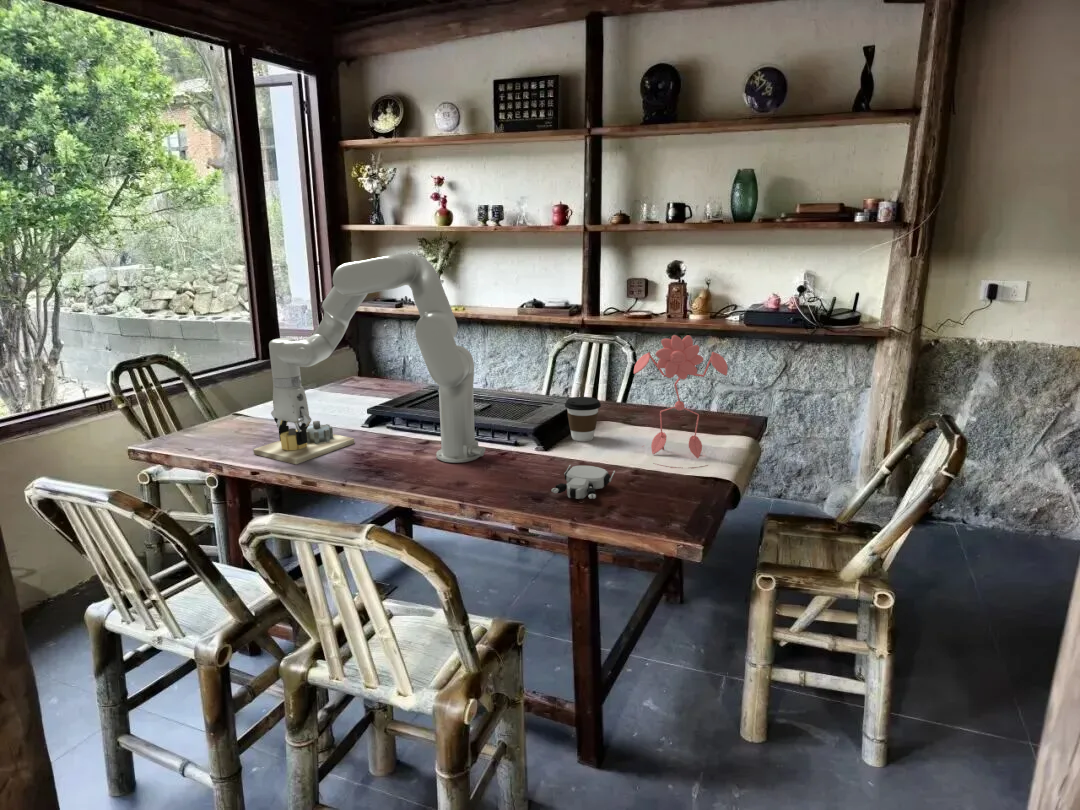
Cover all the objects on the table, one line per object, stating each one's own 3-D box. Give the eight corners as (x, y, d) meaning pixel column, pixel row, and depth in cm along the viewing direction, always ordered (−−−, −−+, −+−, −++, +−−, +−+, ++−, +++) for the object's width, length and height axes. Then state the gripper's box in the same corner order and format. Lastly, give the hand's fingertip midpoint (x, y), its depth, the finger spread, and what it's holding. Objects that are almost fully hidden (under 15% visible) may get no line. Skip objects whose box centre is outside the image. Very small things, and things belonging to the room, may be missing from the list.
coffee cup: (580, 446, 206) (580, 407, 203) (557, 437, 214) (557, 399, 211) (607, 439, 212) (608, 401, 209) (584, 431, 221) (585, 394, 218)
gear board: (354, 443, 211) (352, 420, 209) (296, 464, 193) (293, 440, 191) (313, 434, 220) (311, 413, 218) (253, 454, 202) (251, 431, 200)
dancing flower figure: (635, 445, 206) (638, 328, 196) (724, 455, 197) (732, 333, 187) (621, 463, 192) (624, 338, 182) (717, 474, 183) (725, 343, 173)
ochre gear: (311, 444, 204) (310, 431, 203) (292, 451, 198) (291, 438, 197) (296, 441, 207) (294, 428, 206) (277, 448, 202) (275, 434, 201)
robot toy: (596, 509, 163) (616, 483, 176) (596, 492, 162) (616, 467, 175) (548, 502, 168) (570, 477, 181) (547, 484, 167) (570, 461, 179)
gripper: (318, 382, 196) (324, 442, 201) (277, 376, 205) (284, 434, 210) (297, 388, 190) (303, 450, 195) (256, 381, 199) (263, 441, 203)
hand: (293, 441), depth 202 cm, fingers closed on ochre gear, 6 cm apart
